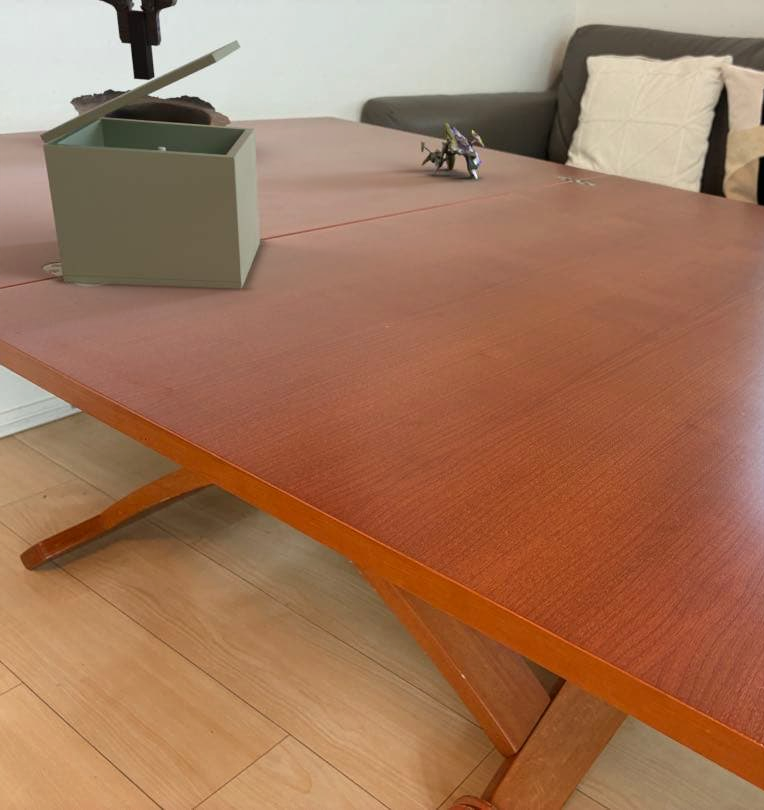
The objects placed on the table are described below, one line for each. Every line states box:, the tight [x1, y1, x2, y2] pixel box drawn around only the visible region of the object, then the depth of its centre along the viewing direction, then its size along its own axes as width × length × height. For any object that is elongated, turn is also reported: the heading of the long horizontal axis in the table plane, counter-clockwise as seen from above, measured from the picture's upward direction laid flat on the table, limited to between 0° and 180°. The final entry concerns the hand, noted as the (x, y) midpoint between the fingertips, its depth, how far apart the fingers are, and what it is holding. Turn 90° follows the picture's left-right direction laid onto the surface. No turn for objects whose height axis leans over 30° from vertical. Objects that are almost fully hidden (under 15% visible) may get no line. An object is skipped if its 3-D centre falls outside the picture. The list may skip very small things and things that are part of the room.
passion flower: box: [420, 122, 486, 180], centre depth 157 cm, size 11×11×12 cm
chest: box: [42, 117, 261, 290], centre depth 97 cm, size 18×18×14 cm
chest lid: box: [39, 39, 241, 144], centre depth 91 cm, size 19×18×1 cm
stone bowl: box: [69, 88, 231, 127], centre depth 150 cm, size 25×25×9 cm
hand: (144, 77), depth 91 cm, fingers closed
